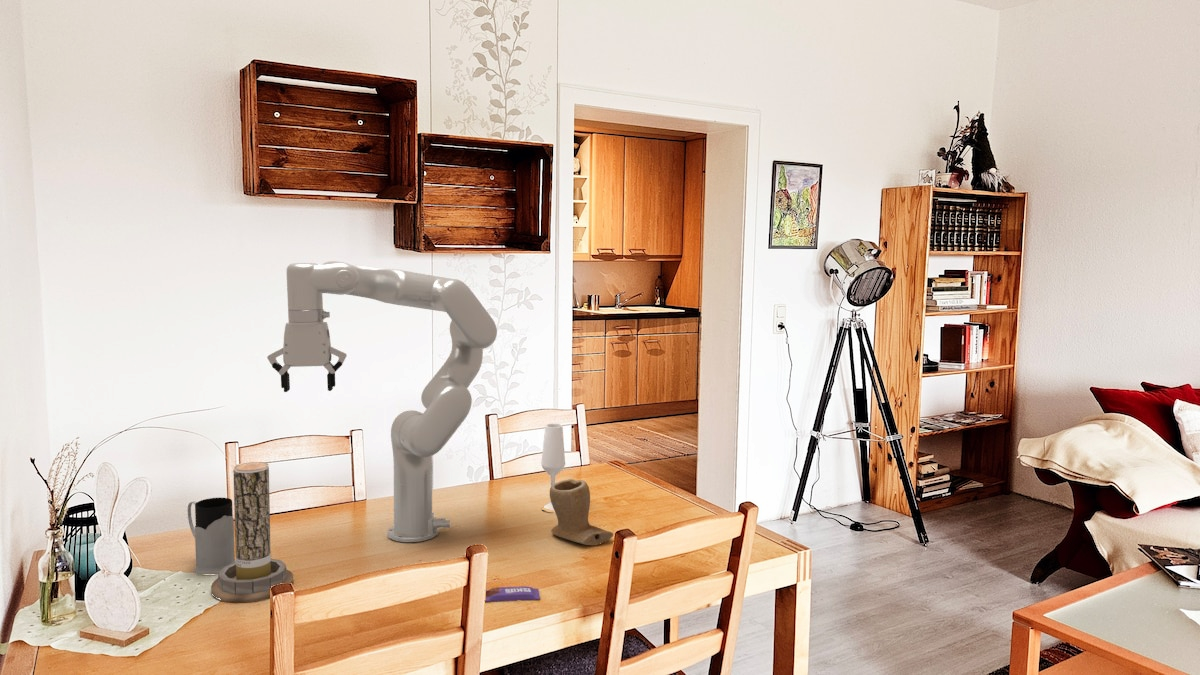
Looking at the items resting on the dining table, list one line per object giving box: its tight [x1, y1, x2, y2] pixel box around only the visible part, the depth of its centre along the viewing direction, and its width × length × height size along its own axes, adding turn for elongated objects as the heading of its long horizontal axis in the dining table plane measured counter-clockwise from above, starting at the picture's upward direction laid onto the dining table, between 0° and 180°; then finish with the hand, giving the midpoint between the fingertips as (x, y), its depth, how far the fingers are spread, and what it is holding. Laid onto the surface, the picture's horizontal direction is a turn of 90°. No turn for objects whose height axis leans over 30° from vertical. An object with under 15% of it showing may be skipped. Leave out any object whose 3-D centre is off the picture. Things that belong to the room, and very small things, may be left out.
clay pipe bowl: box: [549, 478, 614, 546], centre depth 203 cm, size 15×12×15 cm
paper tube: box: [232, 461, 272, 580], centre depth 170 cm, size 7×7×25 cm
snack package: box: [485, 585, 541, 603], centre depth 170 cm, size 12×2×5 cm
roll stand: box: [210, 557, 294, 604], centre depth 171 cm, size 16×16×4 cm
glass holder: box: [187, 497, 236, 575], centre depth 181 cm, size 9×14×15 cm, turn 58°
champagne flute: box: [540, 423, 566, 510], centre depth 225 cm, size 7×7×24 cm
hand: (308, 390), depth 187 cm, fingers open, 9 cm apart
